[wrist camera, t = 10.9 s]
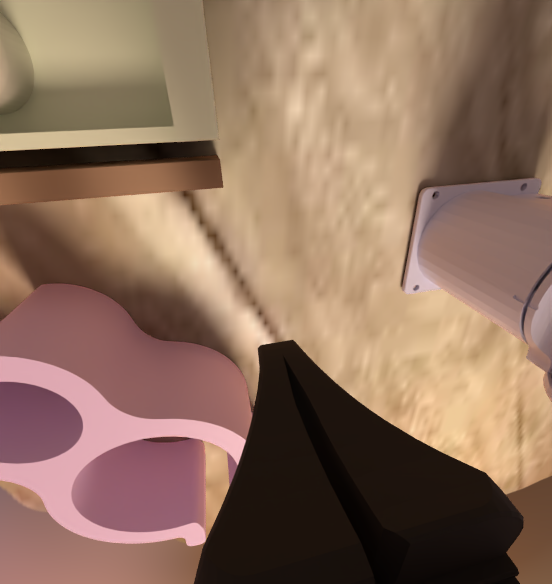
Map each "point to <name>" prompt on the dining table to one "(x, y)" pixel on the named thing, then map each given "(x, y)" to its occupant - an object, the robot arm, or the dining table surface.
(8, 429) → the clip
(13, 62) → the pale pink cylinder
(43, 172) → the rack
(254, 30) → the dining table surface
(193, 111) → the tray
